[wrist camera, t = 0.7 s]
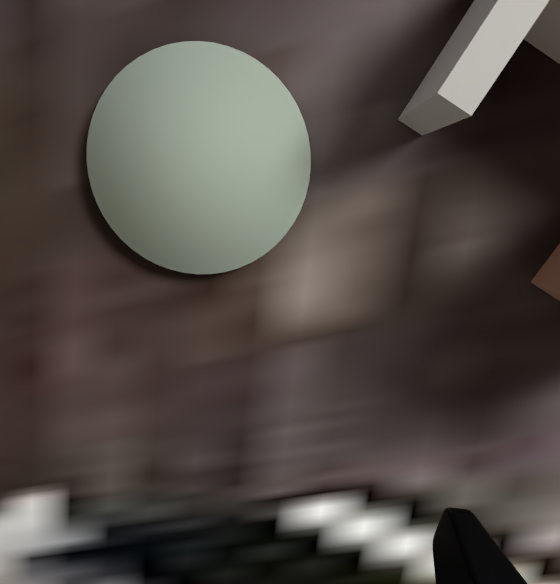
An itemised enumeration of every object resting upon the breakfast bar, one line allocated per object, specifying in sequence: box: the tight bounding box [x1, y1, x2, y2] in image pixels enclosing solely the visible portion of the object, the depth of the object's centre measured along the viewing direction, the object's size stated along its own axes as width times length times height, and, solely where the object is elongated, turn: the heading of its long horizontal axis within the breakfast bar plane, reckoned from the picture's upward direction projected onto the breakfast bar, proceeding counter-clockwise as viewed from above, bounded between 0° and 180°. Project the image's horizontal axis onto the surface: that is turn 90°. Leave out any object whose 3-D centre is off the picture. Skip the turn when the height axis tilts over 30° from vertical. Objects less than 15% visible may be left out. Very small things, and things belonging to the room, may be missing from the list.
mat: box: [87, 41, 311, 274], centre depth 21 cm, size 9×9×1 cm
